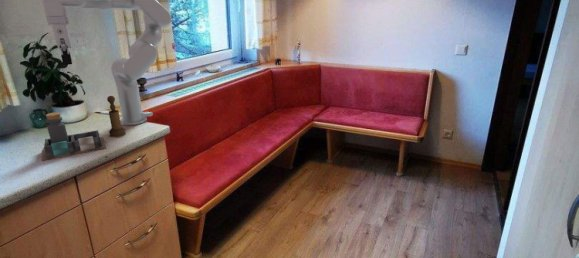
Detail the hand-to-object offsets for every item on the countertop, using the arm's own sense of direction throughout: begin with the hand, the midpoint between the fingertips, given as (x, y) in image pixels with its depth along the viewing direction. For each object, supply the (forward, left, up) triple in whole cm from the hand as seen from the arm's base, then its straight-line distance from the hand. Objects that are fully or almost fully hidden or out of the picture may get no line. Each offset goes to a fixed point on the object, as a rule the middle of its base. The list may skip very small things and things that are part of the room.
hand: (67, 62), depth 147 cm
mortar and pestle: (-13, +10, -32) cm, 36 cm away
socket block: (+4, +18, -32) cm, 37 cm away
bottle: (+8, +18, -32) cm, 37 cm away
